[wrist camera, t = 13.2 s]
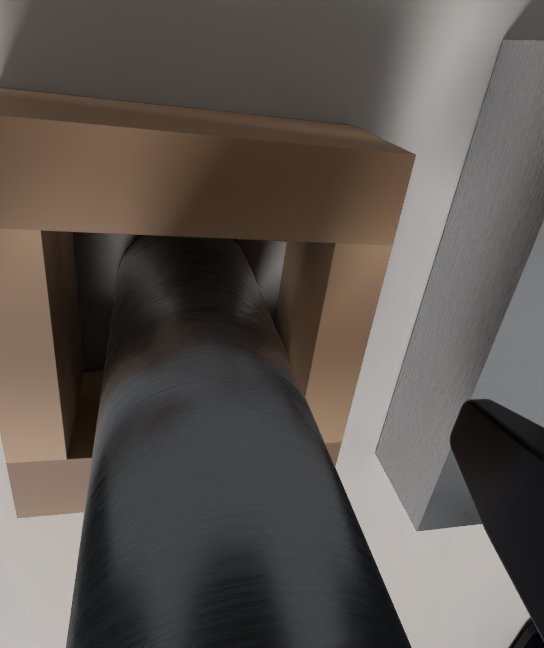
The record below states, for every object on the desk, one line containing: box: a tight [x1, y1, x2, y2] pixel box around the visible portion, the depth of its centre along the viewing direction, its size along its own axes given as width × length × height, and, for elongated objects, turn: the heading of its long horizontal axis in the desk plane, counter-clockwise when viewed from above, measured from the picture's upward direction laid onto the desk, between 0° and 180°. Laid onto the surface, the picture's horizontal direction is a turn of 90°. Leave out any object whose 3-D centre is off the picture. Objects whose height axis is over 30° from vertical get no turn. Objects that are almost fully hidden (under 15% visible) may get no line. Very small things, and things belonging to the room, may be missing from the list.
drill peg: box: [66, 235, 411, 648], centre depth 8 cm, size 3×3×9 cm
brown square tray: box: [0, 88, 416, 518], centre depth 10 cm, size 8×7×3 cm
